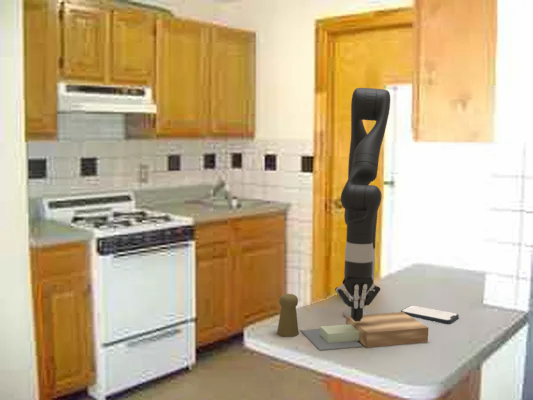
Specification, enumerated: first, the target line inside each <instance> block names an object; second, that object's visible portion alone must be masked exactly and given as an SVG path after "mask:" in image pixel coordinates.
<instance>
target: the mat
mask: <svg viewBox="0 0 533 400" xmlns="http://www.w3.org/2000/svg"><path fill="white" fill-rule="evenodd" d="M300 332H301V333H302V334H303V336H305V337H306V339H308V341H310V342H311V344H313V346H314V347H316V349H318V351H320V352H323V351H332V350H334V351H335V350H343V349H357V348H363V347H364V345H362V343H361V342H360V341H347V342H334V343H328V342H327V341H326V340H325V339H324V338H322V337H321V336H320V328H315V329H303V330H300Z"/></svg>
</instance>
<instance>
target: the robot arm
mask: <svg viewBox="0 0 533 400" xmlns="http://www.w3.org/2000/svg"><path fill="white" fill-rule="evenodd" d="M350 106H351V107H350V108H351V109H350V122H351V123H350V144H349V145H350V146H349V155H348V165H347V166H348V169H347V181H346V183H345V184H344V187H343V189H342V191H341V194H340V203H341V205H342V207H343V209H344V223H345V225H346V242H345V248H344V249H345V250H344V268H343V269H344V271H343V272H344V274H343V275H344V278H343V279H342V284H341V285H340V286H337V287H335V288H334V291H335V293H336V294H337V295H338V296H339V298H340V299H341V301H342V302H343V303H344V304H345V305H346V306H347V305H348V306H349V307H351V318H352V319H353V320H354V321H355V322H357V321H361V319H362V317H363V307H366V306H370V305H371V303H372V302H373V300H374V299H375V298H376V296H377V295H378V293H379V292H380V291H381V287H380V286H378V285H376V284H375V264H376V263H375V261H376V235H377V234H376V233H377V222H378V211H379V208H380V205H381V202H382V191H381V189H380V188H379V187H378V186H377V185H375V184H371V183H372V182H373V181H375V180H376V179H377V176H378V169H379V161H380V153H381V148H382V144H383V141H384V137H385V133H386V129H387V125H388V119H389V115H390V109H391V93H390V91H389V90H387V89H383V88H373V87H372V88H369V87H357V88H355V89H354V90H353V93H352V97H351V102H350ZM363 121H373V122H375V124H374V125H373V127H372V128H371V130H370V131H369V132H367V131H366V129H365V126H364V122H363Z"/></svg>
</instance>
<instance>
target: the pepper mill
mask: <svg viewBox="0 0 533 400" xmlns="http://www.w3.org/2000/svg"><path fill="white" fill-rule="evenodd" d="M278 303H279V305H280V312H279V313H280V314H279V318H278V325H277V335H278V336H281V337H285V338H293V337H297V336H298V335H299V333H300V332H299V323H298V314H297V306H298V303H299V299H298V296H297V295H296V294H293V293H283V294H282V295H280V296H279V299H278Z"/></svg>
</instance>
